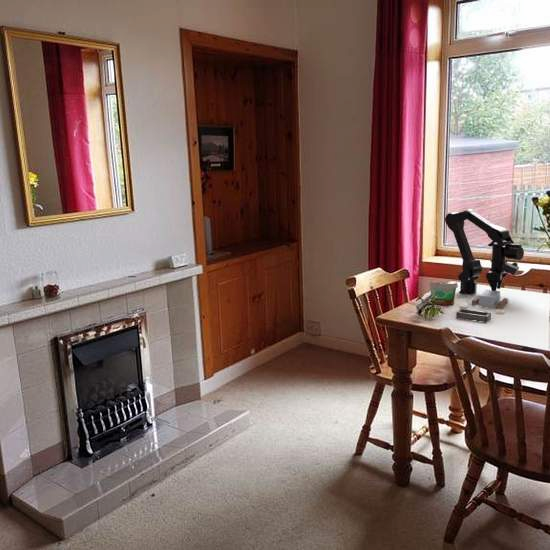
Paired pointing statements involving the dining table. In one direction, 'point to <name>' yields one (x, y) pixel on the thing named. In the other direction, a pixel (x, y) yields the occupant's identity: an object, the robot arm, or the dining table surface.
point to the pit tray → (473, 315)
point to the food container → (443, 293)
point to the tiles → (496, 311)
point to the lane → (500, 304)
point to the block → (489, 298)
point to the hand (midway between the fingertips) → (496, 290)
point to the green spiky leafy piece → (428, 302)
